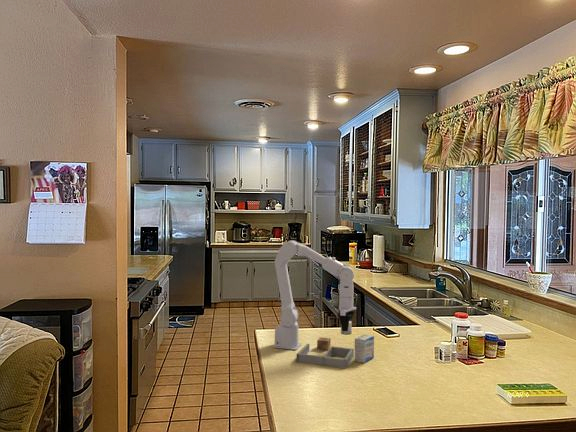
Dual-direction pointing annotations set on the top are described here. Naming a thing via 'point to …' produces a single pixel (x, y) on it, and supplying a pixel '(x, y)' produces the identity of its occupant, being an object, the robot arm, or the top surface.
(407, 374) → the top surface
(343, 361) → the housing
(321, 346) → the block
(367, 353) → the medicine box
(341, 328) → the silver metal cylinder
